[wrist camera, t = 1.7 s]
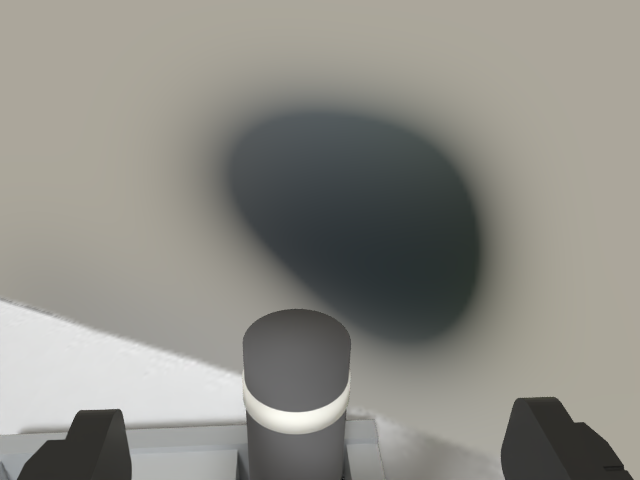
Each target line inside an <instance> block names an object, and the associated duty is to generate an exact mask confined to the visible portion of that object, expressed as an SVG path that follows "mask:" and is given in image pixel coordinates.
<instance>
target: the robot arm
mask: <svg viewBox="0 0 640 480" xmlns="http://www.w3.org/2000/svg"><path fill="white" fill-rule="evenodd" d="M501 464H502V470H503V474H504V477H505V480H633V478H632V477H631V475H630V474H629V473H628V471H626V470H624V465H623V464H622V462H621V461H620V459H619V458H618V457H617V455H616V454H615V452H614V451H613V450H612V448H611V447H610V445H609V444H608V442H607V441H606V440H604V439H603V438H602V437H601V436H600V435H598V434H597V433H596V432H595V431H594V430H592V429H591V428H590V427H589V426H588V425H586V424H585V423H584V422H580V423H574V422H573V420H572V419H571V417H570V416H569V414H568V412H567V411H566V409H565V408H564V407H563V405H562V403H561V402H560V401H559V400H558V399H557V398H555V397H536V398H518V399H516V401H515V402H514V405H513V408H512V412H511V415H510V419H509V423H508V426H507V430H506V434H505V438H504V441H503V445H502V449H501ZM131 479H132V462H131V456H130V451H129V446H128V440H127V435H126V430H125V424H124V419H123V414H122V412H121V410H120V409H109V410H80V411H79V412H78V413H77V414H76V416H75V418H74V420H73V422H72V424H71V427H70V429H69V431H68V434H67V436H66V438H65V439H63V440H47V441H46V442H45V443H44V444H43V445H42V446H41V447H40V448H39V449H38V450H37V451H36V452H35V453H34V454H33V455H32V457H31V458H30V459H29V460H28V461H27V462H26V463H25V464H24V466H23V468H22V470H21V472H20V474H19V476H18V478H17V480H131Z"/></svg>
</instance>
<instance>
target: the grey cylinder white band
mask: <svg viewBox="0 0 640 480" xmlns="http://www.w3.org/2000/svg"><path fill="white" fill-rule="evenodd" d="M350 350H351V339H350V336H349V333H348V331H347V330H346V329H345V327H344V326H343V325H342V324H341V323H340V322H338V321H337V320H336V319H334V318H332V317H331V316H328V315H326V314H323V313H321V312H317V311H312V310H305V309H290V310H282V311H277V312H274V313H270V314H268V315H266V316H264V317H262V318H260V319H258V320H257V321H255V322H254V323H253V324H252V325H251V326H250V327H249V328H248V329H247V331H246V333H245V335H244V338H243V359H244V369H243V373H242V383H243V400H244V405H245V407H246V419H247V438H248V458H249V478H250V480H341V479H342V464H343V450H344V436H345V421H346V408H347V406H348V402H349V395H350V381H351V373H350V368H349V363H350Z"/></svg>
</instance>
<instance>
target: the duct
mask: <svg viewBox="0 0 640 480" xmlns="http://www.w3.org/2000/svg"><path fill="white" fill-rule="evenodd" d="M67 434H68V432H60V433H36V434H13V435H0V480H17V478H18V476H19V474H20V472H21V470H22V468H23V466H24V464H25V463H26V462H27V461H28V460H29V459H30V458H31V457H32V455H33V454H34V453H35V452H36V451H37V450H38V449H39V448H40V447H41V446H42V445H43V444H44V443H45V442H46V441H47V440H63V439H65V438H66V436H67ZM126 435H127V440H128V446H129V451H130V456H131V462H132V479H131V480H250V478H249V458H248V438H247V425H226V426H202V427H178V428H155V429H131V430H126ZM342 477H344V480H386V479H385V474H384V470H383V465H382V460H381V456H380V451H379V447H378V434H377V429H376V425H375V420H374V419H367V420H346V421H345V436H344V450H343V464H342Z"/></svg>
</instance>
